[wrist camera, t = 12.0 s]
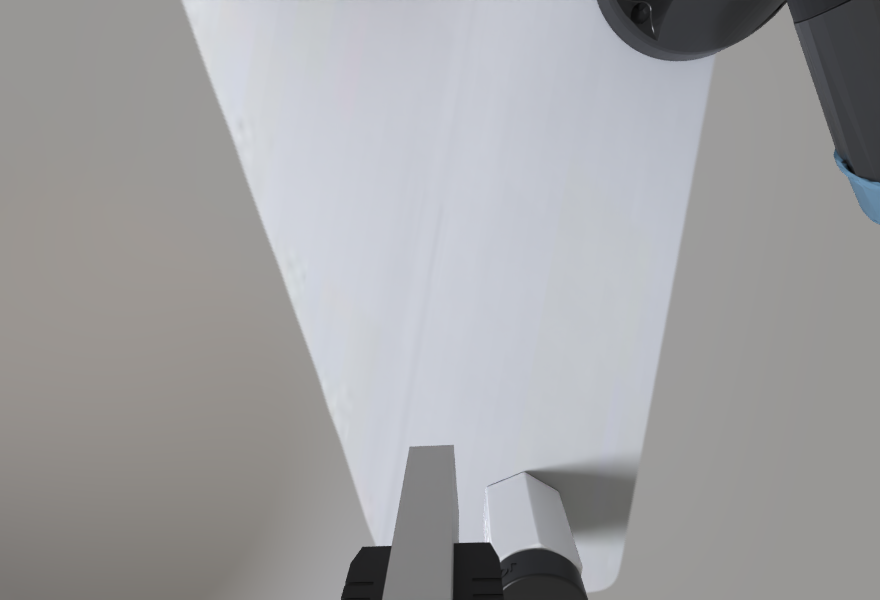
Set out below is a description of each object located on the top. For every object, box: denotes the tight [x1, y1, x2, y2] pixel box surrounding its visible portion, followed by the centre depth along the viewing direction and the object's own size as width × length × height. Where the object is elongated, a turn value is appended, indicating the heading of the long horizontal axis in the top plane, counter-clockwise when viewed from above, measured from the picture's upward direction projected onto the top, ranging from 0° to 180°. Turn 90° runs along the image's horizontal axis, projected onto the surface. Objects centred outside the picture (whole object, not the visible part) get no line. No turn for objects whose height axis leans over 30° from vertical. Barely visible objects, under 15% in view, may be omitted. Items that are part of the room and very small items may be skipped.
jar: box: [483, 472, 588, 600], centre depth 41 cm, size 9×8×12 cm
